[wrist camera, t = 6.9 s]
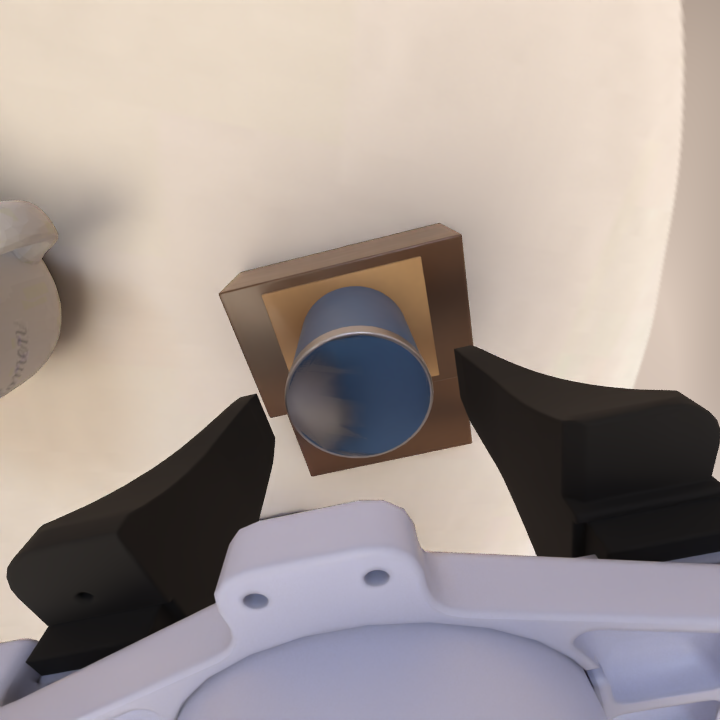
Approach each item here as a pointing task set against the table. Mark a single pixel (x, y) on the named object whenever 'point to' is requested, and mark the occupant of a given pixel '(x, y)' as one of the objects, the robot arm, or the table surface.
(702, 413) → the robot arm
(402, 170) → the table surface
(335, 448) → the tea tin
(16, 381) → the teacup
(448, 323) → the step shelf
